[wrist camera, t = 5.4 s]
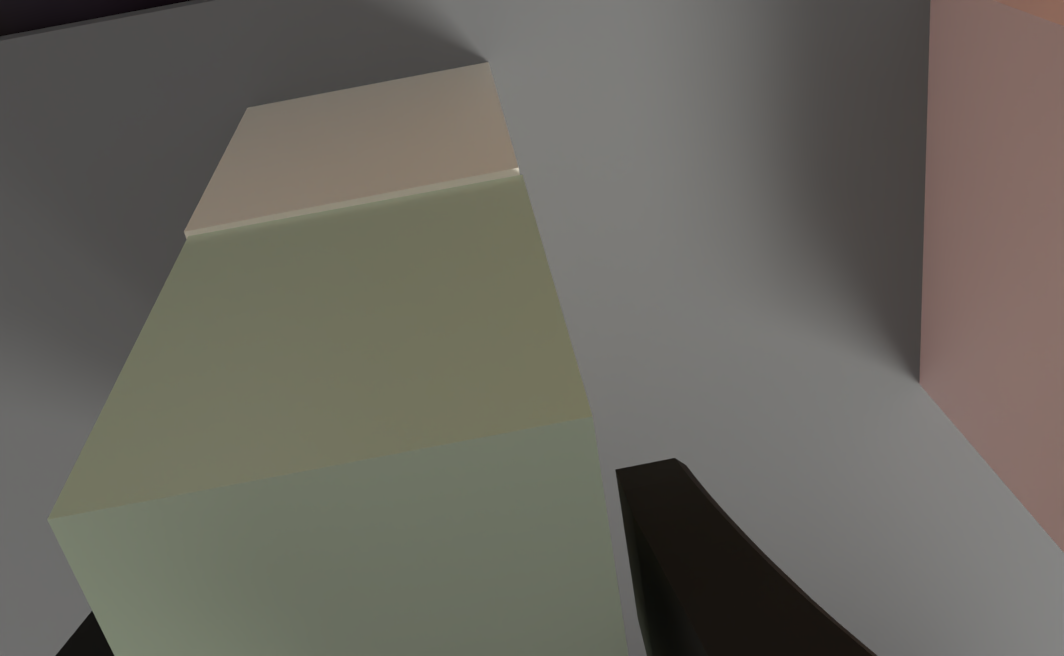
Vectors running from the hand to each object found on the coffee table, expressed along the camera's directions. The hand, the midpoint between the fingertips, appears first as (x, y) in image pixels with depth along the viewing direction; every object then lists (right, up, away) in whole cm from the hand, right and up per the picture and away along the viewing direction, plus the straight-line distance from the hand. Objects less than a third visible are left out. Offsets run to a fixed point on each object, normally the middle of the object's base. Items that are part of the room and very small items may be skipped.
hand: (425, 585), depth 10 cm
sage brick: (0, +1, +2) cm, 2 cm away
